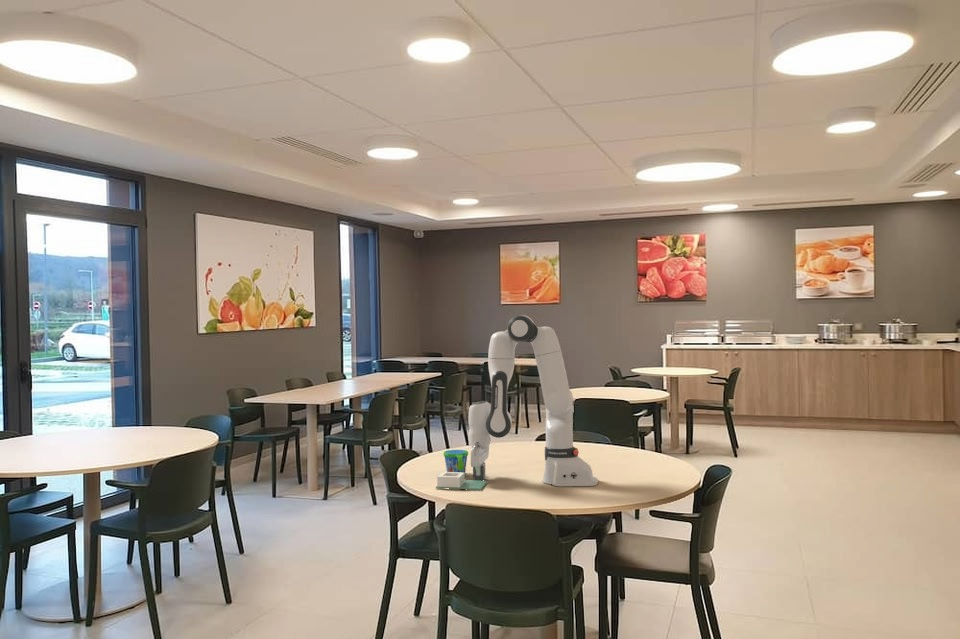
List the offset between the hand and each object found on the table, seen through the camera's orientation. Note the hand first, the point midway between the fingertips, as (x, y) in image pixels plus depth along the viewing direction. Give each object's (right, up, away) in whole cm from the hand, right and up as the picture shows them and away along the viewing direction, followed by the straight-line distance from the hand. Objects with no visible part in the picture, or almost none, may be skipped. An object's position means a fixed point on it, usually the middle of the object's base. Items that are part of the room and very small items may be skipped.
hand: (479, 473), depth 283 cm
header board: (-7, -3, -10) cm, 12 cm away
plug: (0, -3, 0) cm, 3 cm away
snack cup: (-10, -3, +10) cm, 15 cm away
